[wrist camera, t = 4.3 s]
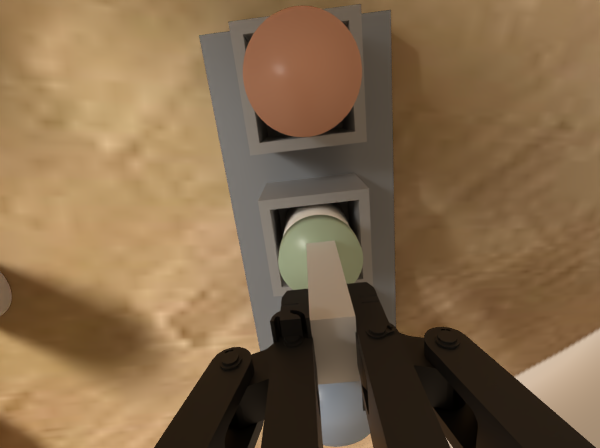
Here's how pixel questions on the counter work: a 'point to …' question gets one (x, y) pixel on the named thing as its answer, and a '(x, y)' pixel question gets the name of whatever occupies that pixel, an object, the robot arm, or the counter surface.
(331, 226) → the plunger sage
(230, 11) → the counter surface
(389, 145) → the grey slotted block
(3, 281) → the coffee cup
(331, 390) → the plunger blue
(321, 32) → the plunger terracotta
